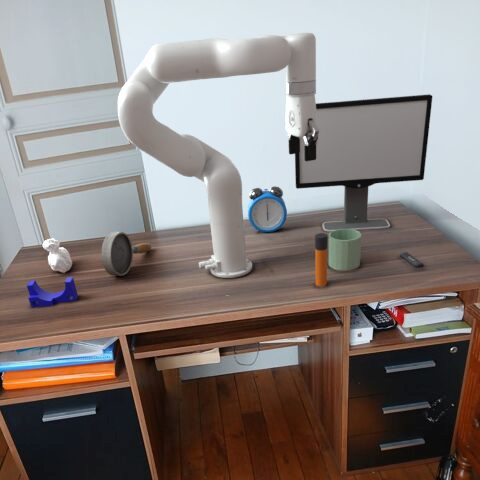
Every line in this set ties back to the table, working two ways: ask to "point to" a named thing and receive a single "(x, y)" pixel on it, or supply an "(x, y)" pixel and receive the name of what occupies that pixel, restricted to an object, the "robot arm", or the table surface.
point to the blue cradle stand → (51, 294)
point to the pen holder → (344, 249)
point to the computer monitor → (366, 151)
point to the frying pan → (120, 253)
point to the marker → (321, 258)
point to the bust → (57, 256)
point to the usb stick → (411, 260)
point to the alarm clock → (267, 209)
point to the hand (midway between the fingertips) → (302, 156)
